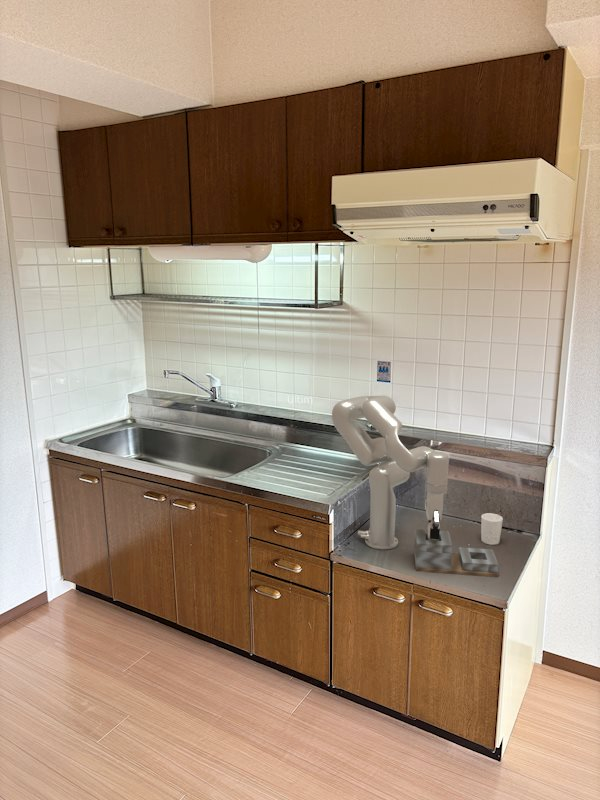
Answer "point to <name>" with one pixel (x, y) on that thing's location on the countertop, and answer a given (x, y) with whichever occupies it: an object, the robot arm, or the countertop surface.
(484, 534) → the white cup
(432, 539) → the peg
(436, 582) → the countertop surface
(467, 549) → the socket board
